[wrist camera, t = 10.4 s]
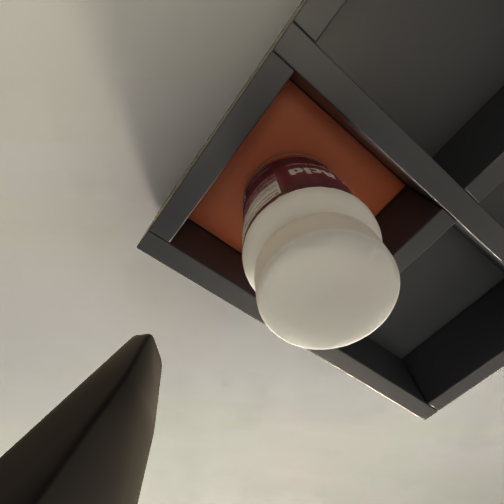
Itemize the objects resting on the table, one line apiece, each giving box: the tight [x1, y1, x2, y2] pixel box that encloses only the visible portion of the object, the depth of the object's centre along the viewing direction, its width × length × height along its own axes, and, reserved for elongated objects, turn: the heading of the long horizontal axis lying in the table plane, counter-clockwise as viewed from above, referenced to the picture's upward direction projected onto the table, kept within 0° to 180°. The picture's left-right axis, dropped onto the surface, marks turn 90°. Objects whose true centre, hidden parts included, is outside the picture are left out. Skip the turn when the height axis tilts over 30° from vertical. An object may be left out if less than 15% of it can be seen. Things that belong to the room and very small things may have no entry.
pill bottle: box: [242, 153, 400, 350], centre depth 13 cm, size 5×5×8 cm
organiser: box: [137, 0, 504, 420], centre depth 15 cm, size 19×19×4 cm
